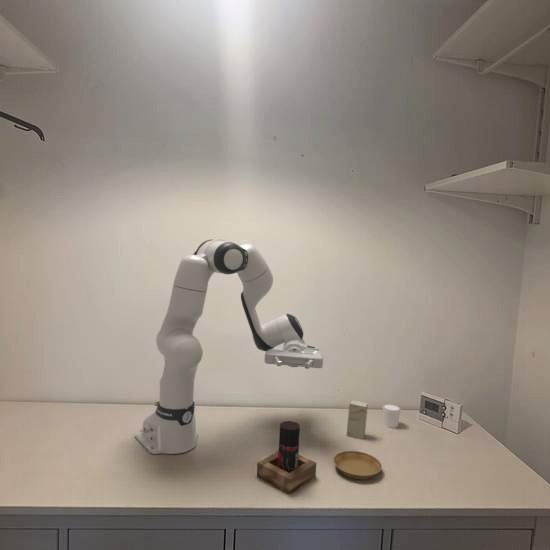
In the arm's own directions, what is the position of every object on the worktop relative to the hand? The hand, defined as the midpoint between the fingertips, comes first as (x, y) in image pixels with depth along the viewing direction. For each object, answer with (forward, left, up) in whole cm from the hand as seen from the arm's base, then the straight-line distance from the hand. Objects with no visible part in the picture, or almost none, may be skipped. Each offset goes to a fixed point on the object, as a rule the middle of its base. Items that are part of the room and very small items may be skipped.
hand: (293, 365), depth 142 cm
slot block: (+10, -14, -29) cm, 34 cm away
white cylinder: (+16, +44, -29) cm, 55 cm away
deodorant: (+11, -14, -28) cm, 33 cm away
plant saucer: (+23, +5, -29) cm, 38 cm away
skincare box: (+11, +26, -29) cm, 41 cm away
